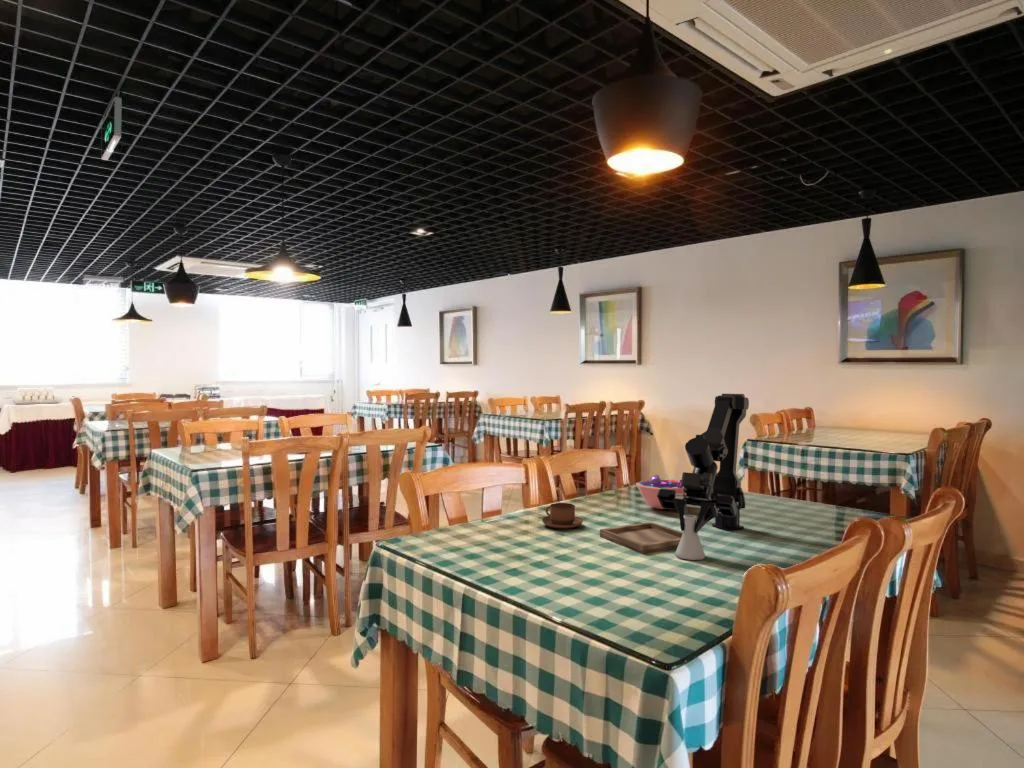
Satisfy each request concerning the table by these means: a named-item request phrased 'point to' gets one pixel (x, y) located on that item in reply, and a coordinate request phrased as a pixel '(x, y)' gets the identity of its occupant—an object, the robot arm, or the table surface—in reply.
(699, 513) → the robot arm
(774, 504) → the table surface
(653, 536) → the walnut tray
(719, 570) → the table surface
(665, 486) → the cell model
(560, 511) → the cup and saucer
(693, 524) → the flask
